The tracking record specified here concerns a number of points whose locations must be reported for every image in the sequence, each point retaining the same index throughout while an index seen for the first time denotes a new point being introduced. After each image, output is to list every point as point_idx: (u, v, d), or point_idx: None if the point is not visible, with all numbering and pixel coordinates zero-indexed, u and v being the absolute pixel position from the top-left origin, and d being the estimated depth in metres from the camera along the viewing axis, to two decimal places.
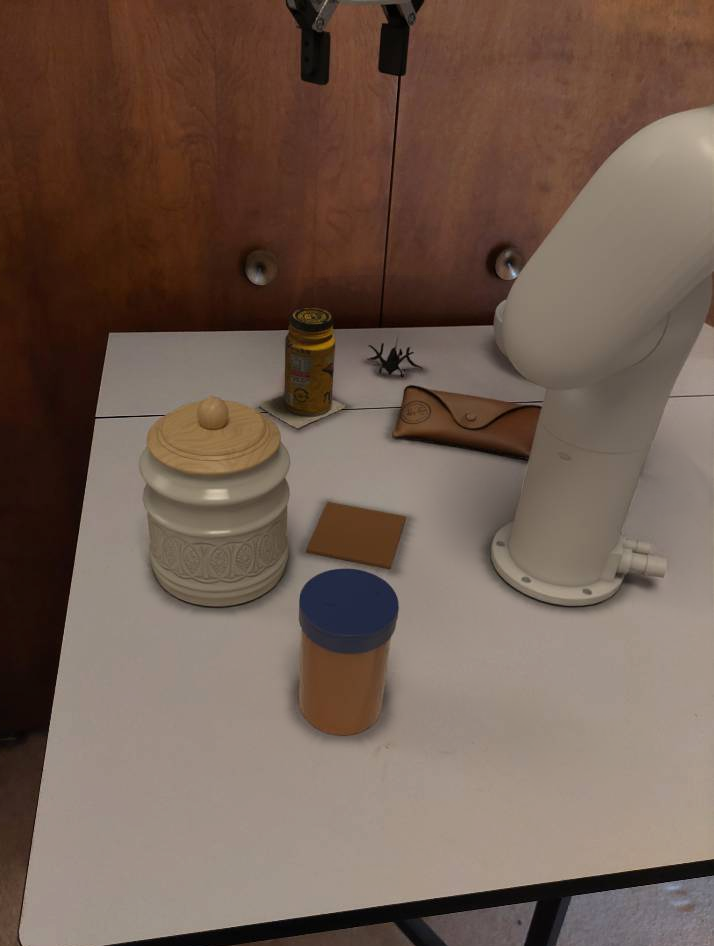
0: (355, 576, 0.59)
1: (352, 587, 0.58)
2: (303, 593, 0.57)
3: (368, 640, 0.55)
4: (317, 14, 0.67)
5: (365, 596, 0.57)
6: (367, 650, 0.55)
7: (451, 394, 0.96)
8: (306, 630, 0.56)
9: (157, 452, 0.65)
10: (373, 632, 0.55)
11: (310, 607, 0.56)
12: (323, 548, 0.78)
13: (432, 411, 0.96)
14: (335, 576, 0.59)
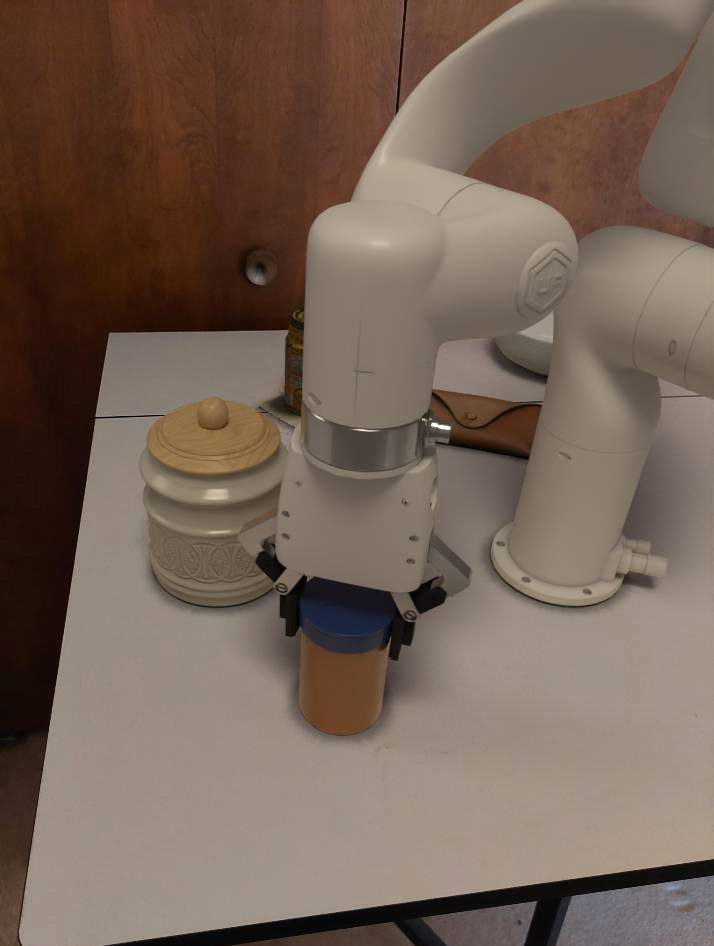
0: None
1: (351, 587, 0.58)
2: (303, 593, 0.57)
3: (368, 640, 0.55)
4: None
5: (365, 596, 0.57)
6: (367, 650, 0.55)
7: (451, 393, 0.97)
8: (306, 630, 0.56)
9: (157, 452, 0.65)
10: (373, 632, 0.54)
11: (310, 607, 0.56)
12: None
13: None
14: None
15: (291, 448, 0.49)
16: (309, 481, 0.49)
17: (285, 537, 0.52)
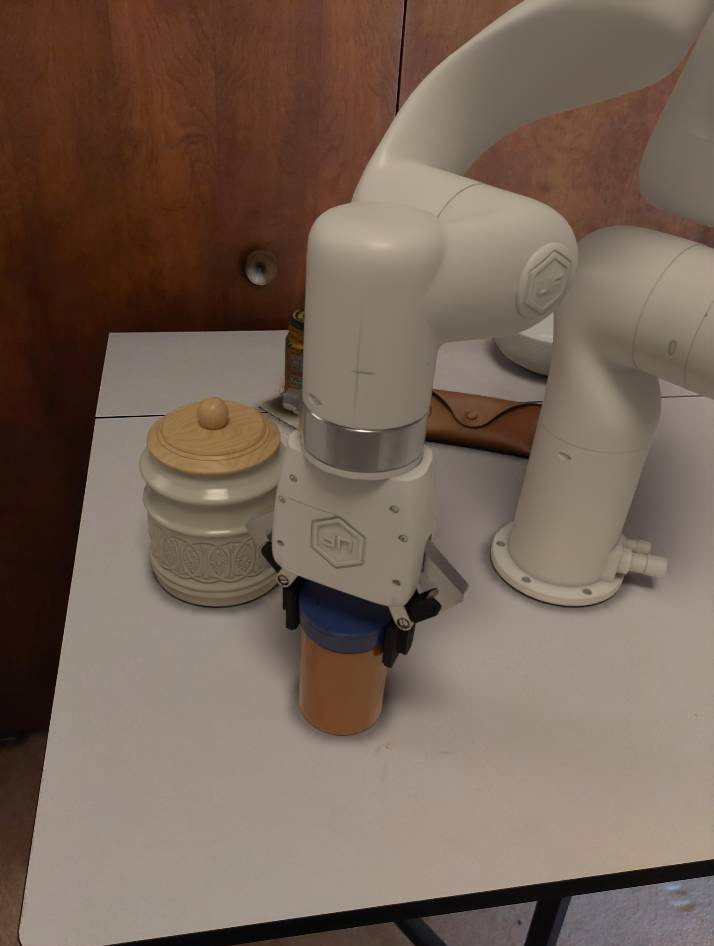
0: (334, 623, 0.55)
1: (341, 612, 0.56)
2: None
3: None
4: None
5: (330, 600, 0.57)
6: None
7: (451, 393, 0.97)
8: None
9: (157, 452, 0.65)
10: None
11: None
12: None
13: (433, 410, 0.96)
14: (356, 626, 0.55)
15: (432, 453, 0.49)
16: None
17: None
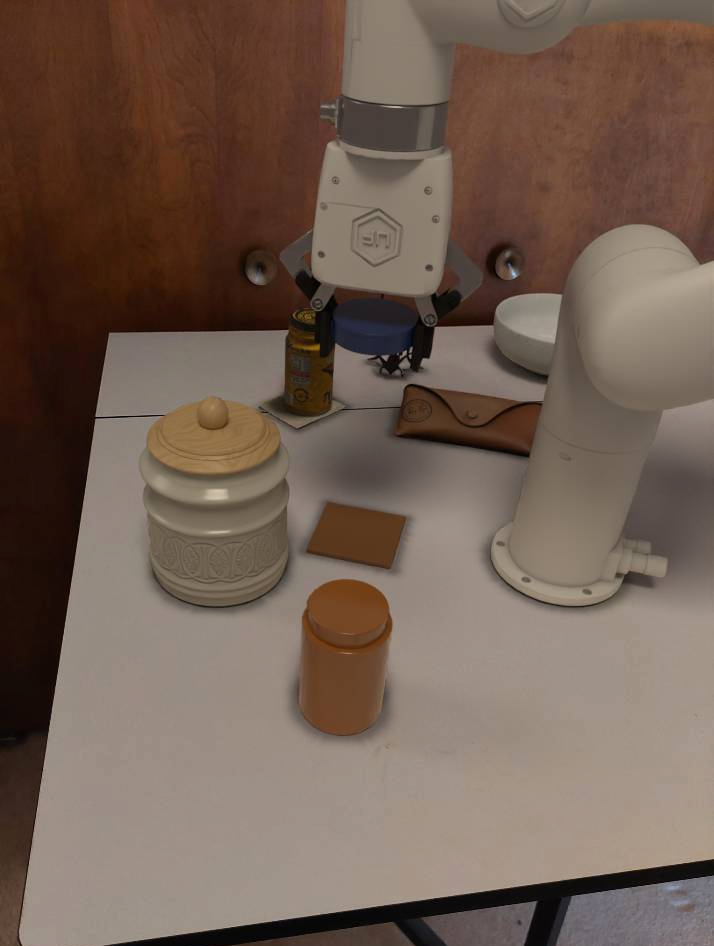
0: (370, 329, 0.63)
1: (373, 323, 0.64)
2: (415, 319, 0.65)
3: None
4: None
5: (360, 317, 0.65)
6: None
7: (451, 392, 0.97)
8: None
9: (157, 452, 0.65)
10: (354, 299, 0.68)
11: (407, 311, 0.66)
12: (323, 548, 0.78)
13: (433, 410, 0.96)
14: (389, 329, 0.63)
15: (448, 149, 0.58)
16: None
17: None
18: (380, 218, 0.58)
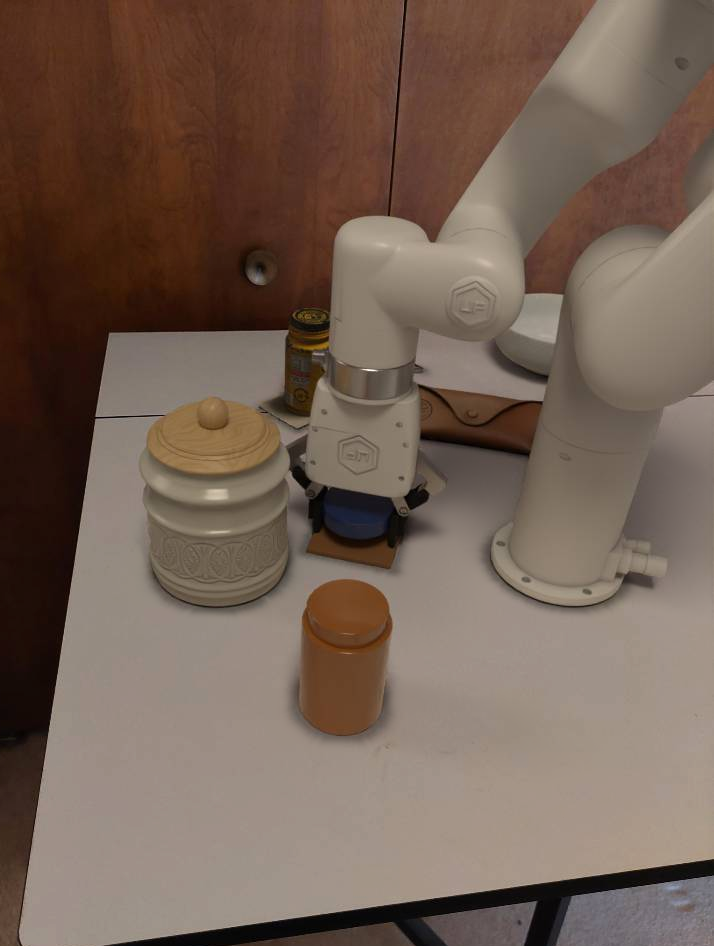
0: (354, 518, 0.76)
1: (356, 510, 0.77)
2: (392, 506, 0.78)
3: None
4: (309, 486, 0.77)
5: (346, 504, 0.78)
6: None
7: (452, 391, 0.97)
8: None
9: (157, 452, 0.65)
10: None
11: (386, 497, 0.79)
12: (323, 548, 0.78)
13: (433, 409, 0.96)
14: (369, 518, 0.76)
15: (417, 385, 0.71)
16: None
17: None
18: (360, 441, 0.71)
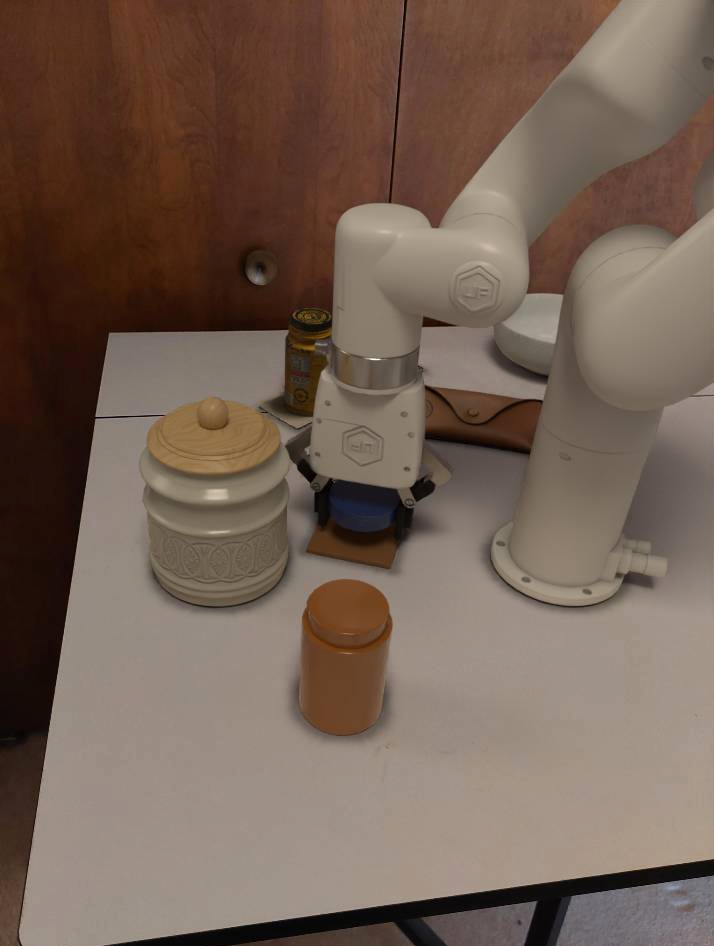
0: (360, 511, 0.76)
1: (362, 503, 0.76)
2: (398, 498, 0.77)
3: None
4: None
5: (352, 497, 0.77)
6: None
7: (452, 390, 0.97)
8: None
9: (157, 452, 0.65)
10: None
11: (392, 489, 0.78)
12: (323, 548, 0.78)
13: (434, 408, 0.96)
14: (375, 510, 0.76)
15: (421, 374, 0.70)
16: None
17: None
18: (365, 432, 0.70)
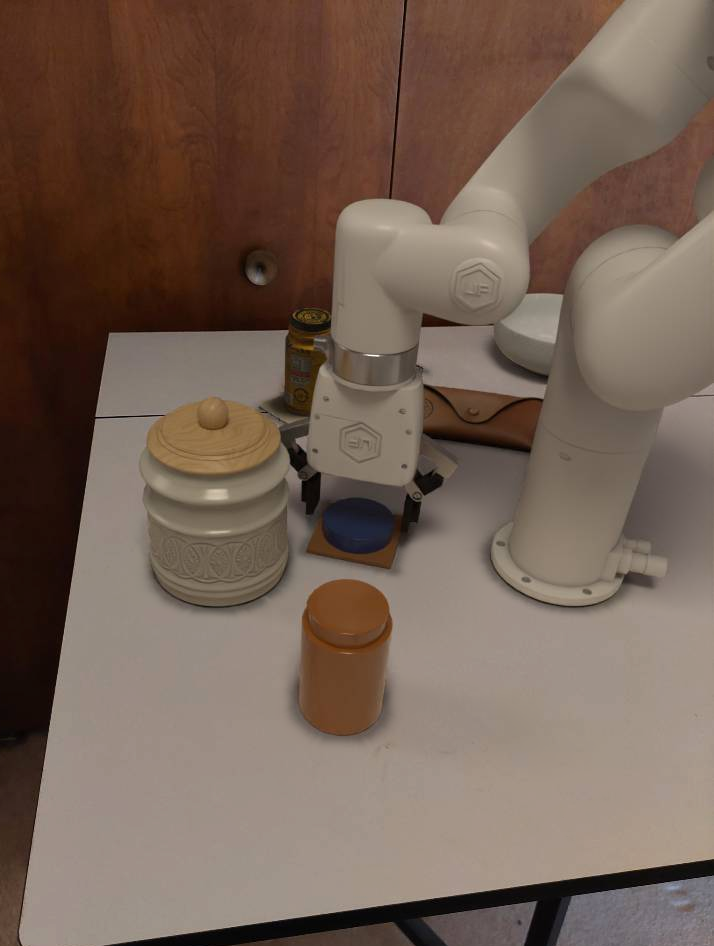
0: (354, 533, 0.77)
1: (356, 526, 0.78)
2: (391, 521, 0.79)
3: None
4: (301, 468, 0.76)
5: (346, 520, 0.79)
6: None
7: (452, 389, 0.97)
8: None
9: (157, 452, 0.65)
10: (342, 499, 0.82)
11: (385, 513, 0.80)
12: (323, 548, 0.78)
13: (434, 407, 0.97)
14: (369, 533, 0.77)
15: (420, 371, 0.70)
16: None
17: None
18: (363, 429, 0.70)
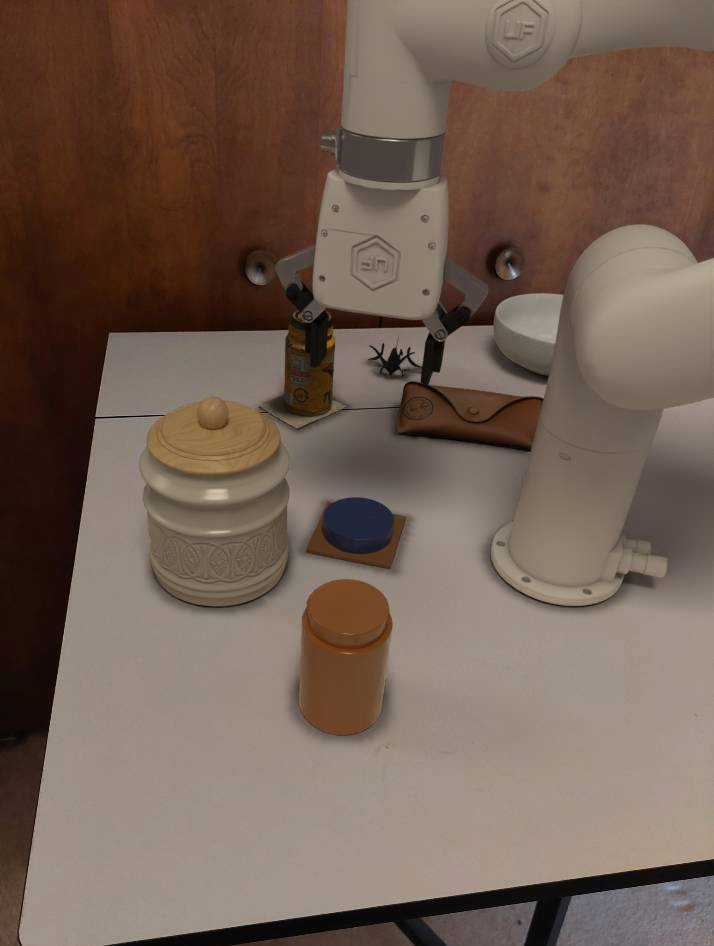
0: (354, 533, 0.77)
1: (356, 526, 0.78)
2: (391, 521, 0.79)
3: None
4: (306, 306, 0.66)
5: (346, 520, 0.79)
6: None
7: (452, 389, 0.98)
8: None
9: (157, 452, 0.65)
10: (342, 499, 0.82)
11: (385, 513, 0.80)
12: (323, 548, 0.78)
13: (434, 407, 0.97)
14: (369, 533, 0.77)
15: None
16: None
17: None
18: (378, 245, 0.60)
